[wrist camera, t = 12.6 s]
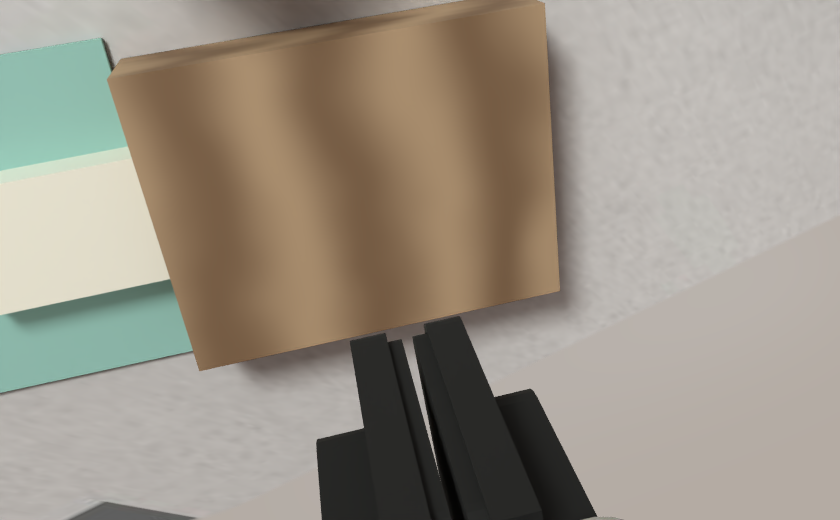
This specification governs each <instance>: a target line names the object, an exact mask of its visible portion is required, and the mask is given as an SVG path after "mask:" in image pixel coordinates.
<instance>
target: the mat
mask: <svg viewBox="0 0 840 520" xmlns="http://www.w3.org/2000/svg"><path fill="white" fill-rule="evenodd" d="M111 72H112V69H111V65H110V62H109V59H108V56H107V53H106V49H105V46H104V43H103V40H102V38H98V39H92V40H86V41H80V42H74V43H68V44H62V45H56V46H50V47H44V48H38V49H32V50H26V51H20V52H14V53H8V54H2V55H0V171H2V170H7V169H12V168H17V167H23V166H28V165H33V164H38V163H44V162H49V161H54V160H59V159H65V158H70V157H75V156H80V155H86V154H91V153H96V152H101V151H107V150H112V149H117V148H122V147H128V145H127V142H126V139H125V135H124V132H123V129H122V126H121V123H120V120H119V117H118V113H117V110H116V107H115V104H114V101H113V98H112V95H111V92H110V88H109V85H108V82H107V78H108V77H109V75H110V74H111ZM189 351H193V349H192V346H191V343H190V340H189V337H188V333H187V330H186V327H185V324H184V321H183V318H182V315H181V311H180V308H179V305H178V302H177V299H176V296H175V293H174V289H173V286H172V283H171V280H170V279H168V280H163V281H159V282H154V283H149V284H145V285H140V286H135V287H130V288H126V289H121V290H116V291H112V292H107V293H102V294H98V295H93V296H88V297H83V298H79V299H74V300H69V301H65V302H60V303H55V304H50V305H46V306H41V307H36V308H32V309H27V310H22V311H17V312H13V313H8V314H3V315H0V393H2V392H7V391H11V390H16V389H20V388H25V387H29V386H34V385H38V384H43V383H48V382H52V381H57V380H61V379H66V378H70V377H75V376H80V375H84V374H89V373H93V372H98V371H102V370H107V369H112V368H116V367H121V366H125V365H130V364H134V363H139V362H144V361H148V360H153V359H157V358H162V357H166V356H171V355H176V354H180V353H185V352H189Z"/></svg>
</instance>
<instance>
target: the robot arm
mask: <svg viewBox="0 0 840 520" xmlns="http://www.w3.org/2000/svg"><path fill="white" fill-rule="evenodd" d="M424 328H425V334H422V335H417V336H413V343H414V349H415V354H416V359H417V364H418V369H419V374H420V379H421V384H422V389H423V395H424V400H425V405H426V410H427V415H428V420H429V425H430V430H431V435H432V441H433V445H434V451H435V455H436V461H437V466H438V470H437V466H436V463H435V459H434V455H433V452H432V448H431V444H430V441H429V438H428V434H427V430H426V426H425V423H424V419H423V415H422V412H421V408H420V405H419V401H418V397H417V394H416V390H415V386H414V383H413V379H412V376H411V372H410V368H409V365H408V361H407V357H406V354H405V350H404V347H403V343H402V340H401V339H400V340H396V341H391V342H387V338H386V334H385V333H383V334H379V335H374V336H370V337H366V338H361V339H357V340H352V341H350V345H351V351H352V357H353V363H354V369H355V376H356V382H357V388H358V394H359V400H360V406H361V412H362V418H363V424H364V428H363V429H359V430H355V431H351V432H346V433H342V434H338V435H334V436H330V437H325V438H321V439H317V442H316V445H317V462H318V474H319V487H320V501H321V513H322V520H622V519H618V518H614V517H597V515H596V513H595V511H594V509H593V507H592V505H591V503H590V501H589V499H588V497H587V495H586V493H585V491H584V489H583V487H582V485H581V483H580V482H579V479H578V477H577V475H576V473H575V472H574V469H573V467H572V466H571V463H570V462H569V460H568V457H567V455H566V454H565V451H564V450H563V448H562V446H561V444H560V442H559V440H558V438H557V436H556V434H555V432H554V430H553V428H552V426H551V424H550V422H549V420H548V418H547V416H546V414H545V412H544V410H543V408H542V406H541V404H540V402H539V400H538V398H537V396H536V395H535V393H534V391H533V390H531V389H527V390H523V391H519V392H514V393H510V394H506V395H502V396H498V397H494V396H493V393H492V391H491V388H490V386H489V384H488V381H487V379H486V377H485V374H484V372H483V369H482V367H481V365H480V362H479V360H478V358H477V355H476V353H475V350H474V348H473V346H472V343H471V341H470V339H469V336H468V334H467V332H466V329H465V327H464V324H463V322H462V320H461V318H460V317H459V316H457V317H453V318H448V319H444V320H440V321H435V322H431V323H427V324H424ZM438 471H439V473H438ZM439 476H440V477H439ZM440 480H441V481H440Z"/></svg>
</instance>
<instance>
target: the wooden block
mask: <svg viewBox="0 0 840 520" xmlns="http://www.w3.org/2000/svg"><path fill="white" fill-rule="evenodd" d="M107 82H108V85H109V88H110V92H111V95H112V98H113V101H114V104H115V107H116V110H117V113H118V117H119V120H120V123H121V126H122V129H123V132H124V135H125V139H126V142H127V145H128V148H129V151H130V154H131V157H132V161H133V164H134V167H135V170H136V173H137V176H138V179H139V183H140V186H141V189H142V192H143V195H144V198H145V201H146V205H147V208H148V211H149V214H150V217H151V220H152V223H153V227H154V230H155V233H156V236H157V239H158V242H159V245H160V249H161V252H162V255H163V258H164V261H165V264H166V267H167V271H168V274H169V277H170V280H171V283H172V286H173V289H174V293H175V296H176V299H177V302H178V305H179V308H180V311H181V315H182V318H183V321H184V324H185V327H186V330H187V333H188V337H189V340H190V343H191V346H192V349H193V352H194V355H195V359H196V362H197V365H198V368H199V371H202V370H207V369H211V368H216V367H220V366H225V365H229V364H234V363H238V362H243V361H247V360H252V359H256V358H261V357H265V356H270V355H274V354H279V353H283V352H288V351H292V350H297V349H301V348H306V347H310V346H315V345H319V344H324V343H328V342H333V341H337V340H342V339H346V338H351V337H355V336H360V335H364V334H369V333H373V332H378V331H382V330H387V329H391V328H396V327H400V326H405V325H409V324H414V323H418V322H423V321H427V320H432V319H436V318H441V317H445V316H450V315H454V314H459V313H463V312H468V311H472V310H477V309H481V308H486V307H490V306H495V305H499V304H504V303H508V302H513V301H517V300H522V299H526V298H531V297H535V296H540V295H544V294H549V293H553V292H558V291H560V283H559V264H558V245H557V226H556V207H555V188H554V169H553V150H552V131H551V112H550V93H549V74H548V55H547V36H546V17H545V3H542V2H540V1H537V0H464V1H458V2H452V3H447V4H441V5H435V6H429V7H423V8H417V9H411V10H406V11H400V12H394V13H388V14H382V15H376V16H370V17H364V18H359V19H353V20H347V21H341V22H335V23H329V24H323V25H318V26H312V27H306V28H300V29H294V30H288V31H282V32H276V33H271V34H265V35H259V36H253V37H247V38H241V39H235V40H230V41H224V42H218V43H212V44H206V45H200V46H194V47H188V48H183V49H177V50H171V51H165V52H159V53H153V54H147V55H142V56H136V57H130V58H124V59H121V60H120V61H119V62H118V64H117V65H116V67H115V68H114V70H113V71H112V72H111V74H110V75H109V77H108V78H107Z"/></svg>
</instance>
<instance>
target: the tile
mask: <svg viewBox="0 0 840 520" xmlns="http://www.w3.org/2000/svg"><path fill="white" fill-rule="evenodd" d="M168 279H170V277H169V274H168V271H167V267H166V264H165V261H164V258H163V255H162V252H161V249H160V245H159V242H158V239H157V236H156V233H155V230H154V227H153V223H152V220H151V217H150V214H149V211H148V208H147V205H146V201H145V198H144V195H143V192H142V189H141V186H140V183H139V179H138V176H137V173H136V170H135V167H134V164H133V161H132V157H131V154H130V151H129V148H128V147H122V148H117V149H112V150H107V151H101V152H96V153H91V154H86V155H80V156H75V157H70V158H65V159H59V160H54V161H49V162H44V163H38V164H33V165H28V166H23V167H17V168H12V169H7V170H2V171H0V315H3V314H8V313H13V312H17V311H22V310H27V309H32V308H36V307H41V306H46V305H50V304H55V303H60V302H65V301H69V300H74V299H79V298H83V297H88V296H93V295H98V294H102V293H107V292H112V291H116V290H121V289H126V288H130V287H135V286H140V285H145V284H149V283H154V282H159V281H163V280H168Z"/></svg>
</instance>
